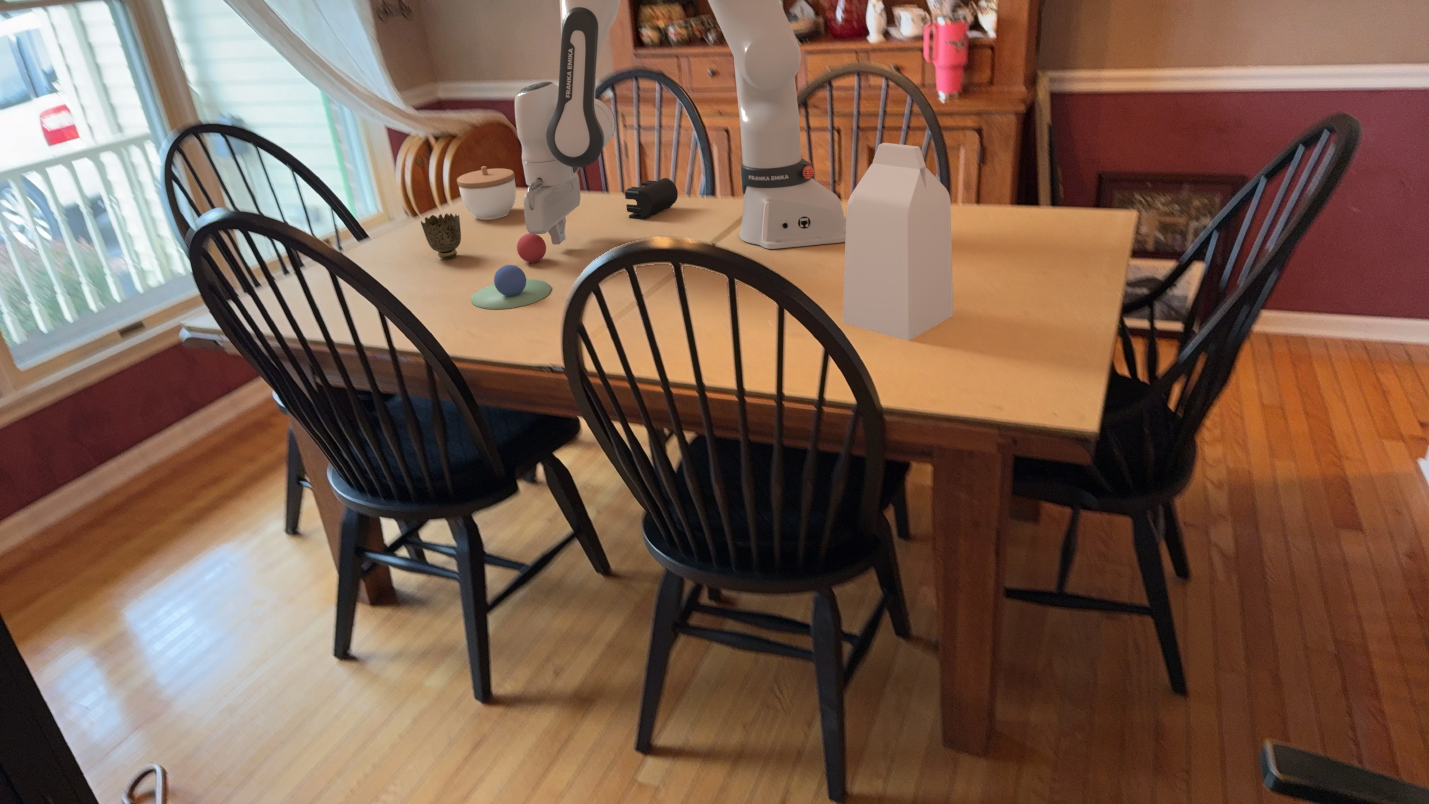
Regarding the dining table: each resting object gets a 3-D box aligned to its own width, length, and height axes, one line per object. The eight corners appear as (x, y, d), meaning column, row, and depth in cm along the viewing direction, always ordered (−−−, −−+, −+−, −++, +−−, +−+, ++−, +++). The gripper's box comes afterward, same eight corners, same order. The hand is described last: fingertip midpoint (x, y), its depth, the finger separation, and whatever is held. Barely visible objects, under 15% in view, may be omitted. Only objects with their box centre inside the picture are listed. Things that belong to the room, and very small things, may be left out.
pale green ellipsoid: (560, 279, 173) (560, 278, 173) (537, 308, 160) (537, 307, 160) (487, 281, 175) (487, 280, 175) (459, 310, 163) (458, 309, 163)
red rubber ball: (519, 236, 177) (540, 258, 178) (535, 223, 181) (556, 244, 182) (506, 251, 181) (527, 272, 182) (522, 237, 185) (543, 258, 186)
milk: (842, 322, 144) (838, 150, 133) (887, 299, 151) (888, 133, 139) (908, 341, 137) (910, 159, 125) (953, 315, 143) (959, 141, 132)
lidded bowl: (532, 209, 217) (524, 161, 212) (493, 225, 208) (484, 175, 203) (492, 205, 223) (483, 158, 218) (453, 221, 214) (442, 172, 209)
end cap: (653, 222, 201) (649, 190, 198) (626, 219, 204) (622, 188, 201) (680, 209, 208) (676, 178, 205) (653, 206, 212) (650, 176, 209)
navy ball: (520, 300, 164) (532, 293, 169) (518, 268, 162) (529, 262, 167) (490, 298, 165) (502, 292, 170) (487, 267, 163) (500, 261, 168)
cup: (457, 263, 186) (448, 223, 182) (422, 263, 188) (413, 224, 184) (473, 251, 193) (465, 212, 189) (439, 251, 194) (431, 213, 190)
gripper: (542, 186, 172) (554, 259, 178) (581, 159, 189) (591, 226, 195) (510, 187, 173) (523, 259, 179) (551, 159, 191) (562, 226, 197)
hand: (559, 242), depth 188 cm, fingers closed
